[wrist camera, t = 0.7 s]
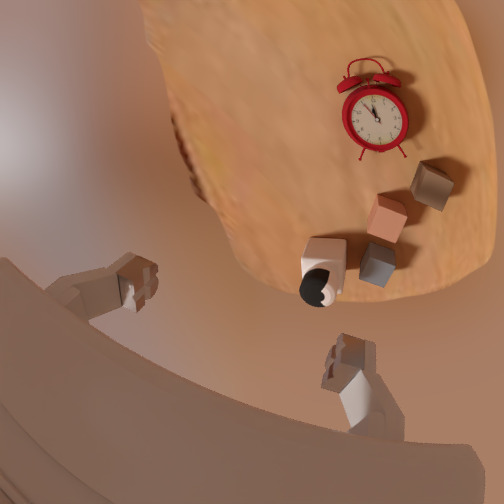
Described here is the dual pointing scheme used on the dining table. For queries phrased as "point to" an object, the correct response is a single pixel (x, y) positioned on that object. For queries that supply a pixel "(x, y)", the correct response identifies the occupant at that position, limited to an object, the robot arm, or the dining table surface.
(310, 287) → the medicine bottle
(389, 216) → the terracotta block
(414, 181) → the walnut block
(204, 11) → the dining table surface
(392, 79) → the alarm clock
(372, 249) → the slate-grey block
